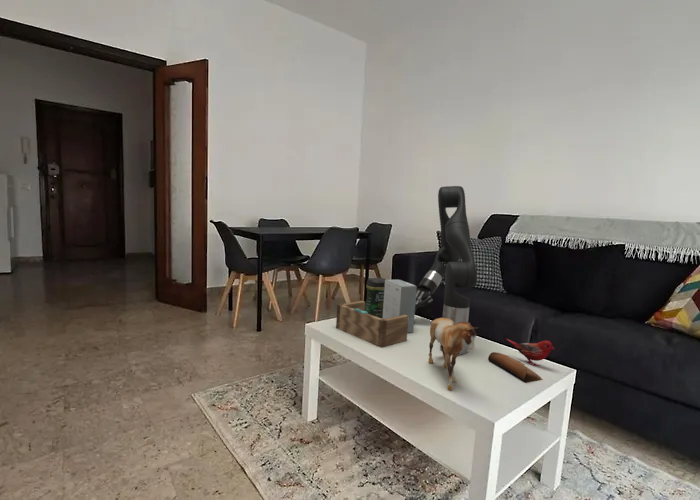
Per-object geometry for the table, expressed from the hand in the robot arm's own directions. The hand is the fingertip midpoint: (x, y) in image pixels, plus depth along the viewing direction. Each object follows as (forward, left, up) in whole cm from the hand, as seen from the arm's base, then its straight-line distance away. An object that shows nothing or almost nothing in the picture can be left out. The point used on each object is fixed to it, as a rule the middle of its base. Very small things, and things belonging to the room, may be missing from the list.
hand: (410, 312), depth 179 cm
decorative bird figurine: (-52, -3, -6) cm, 52 cm away
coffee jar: (+17, +5, -6) cm, 19 cm away
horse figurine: (-43, +28, -6) cm, 52 cm away
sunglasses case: (-53, +7, -7) cm, 54 cm away
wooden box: (0, +24, -6) cm, 25 cm away
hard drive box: (0, +8, -6) cm, 10 cm away
